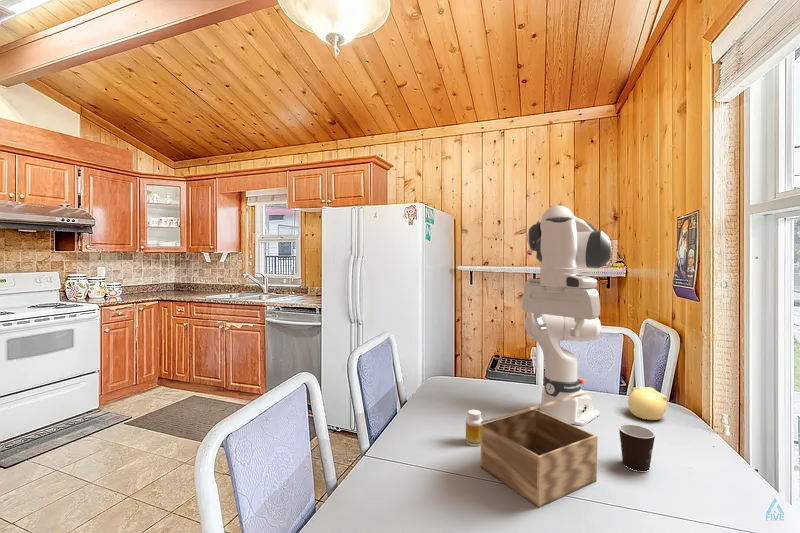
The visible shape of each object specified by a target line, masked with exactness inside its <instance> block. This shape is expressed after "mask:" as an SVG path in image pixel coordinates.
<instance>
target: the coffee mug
mask: <svg viewBox="0 0 800 533" xmlns="http://www.w3.org/2000/svg"><path fill="white" fill-rule="evenodd" d="M618 431H619V441H620V449H621V459H622V465H623V464H624V465H625V466H627V467H628V468H631V469H633V470H637V471H647V470H649V471H650V469H649V468H650V467H651V462H652V457H653V452H654V451H653V449H654V443H655V437H656V434H655V432H654V431H653V430H651V429H650V428H648V427H644V426H642V425H637V424H630V423H626V424H621V425H619V427H618ZM624 465H623V466H624ZM625 466H624V467H625ZM627 467H626V468H627ZM628 468H627V469H628ZM633 470H632V471H633Z"/></svg>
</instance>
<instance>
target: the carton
mask: <svg viewBox="0 0 800 533" xmlns="http://www.w3.org/2000/svg"><path fill="white" fill-rule="evenodd" d="M598 438H599V437H598V435H596V434H595V433H592V432H591V431H590V432H589V431H587V430H585V429H582V428H580V427H578V426H575V425H574V424H569V423H566V422H564V421H562V420H560V419H557V418H555V417H553V416H550V415H548V414H546V413H543V412H541V411H540V409H534V410H530V411H526V412H523V413H519V414H516V415H512V416H508V417H505V418H501V419H498V420H494V421H490V422H487V423H483V424H482V425H481V445H480V468H481V469H482V470H484V471H485V472H486V473H488V474H490V475H491V476H492V477H494V478H495V479H497V480H498V481H500V482H501V483H502V484H504V485H505V486H507V487H508V488H510V489H511V490H512V491H514V492H515V493H517V494H518V495H519V496H521V497H522V498H524V499H525V500H526V501H528V502H529V503H531V504H532V505H534V506H535V507H536V508H538V509H540V508H543V507H544V506H546V505H549V504H550V503H553V502H555V501H557V500H559V499H562V498H563V497H566V496H568V495H570V494H572V493H574V492H576V491H578V490H581V489H583V488H585V487H587V486H589V485H591V484H594V483H596V482H597V480H598V479H597V478H598V477H597V473H598Z"/></svg>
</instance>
